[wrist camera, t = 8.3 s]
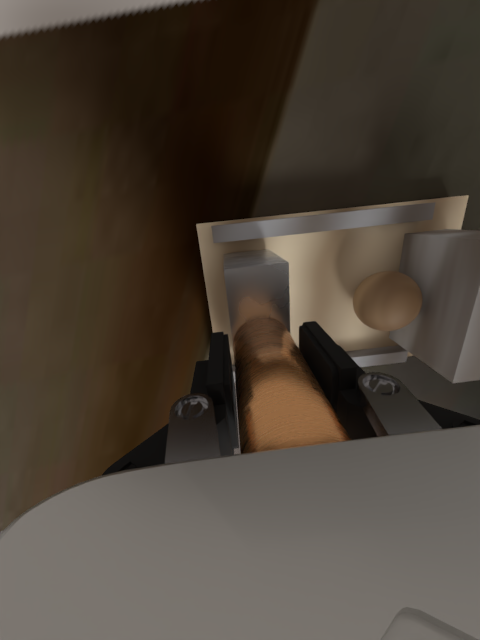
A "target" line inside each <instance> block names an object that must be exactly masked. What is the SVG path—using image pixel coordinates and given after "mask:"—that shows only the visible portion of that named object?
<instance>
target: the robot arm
mask: <svg viewBox="0 0 480 640" xmlns="http://www.w3.org/2000/svg"><path fill="white" fill-rule="evenodd" d="M299 350H300V352H301V354H302V355H303V357H304V359H305V361H306V362H307V364H308V366H309V368H310V369H311V371H312V373H313V374H314V376H315V378H316V380H317V381H318V383H319V385H320V387H321V388H322V390H323V392H324V393H325V395H326V397H327V399H328V400H329V402H330V404H331V406H332V407H333V409H334V411H335V413H336V414H337V416H338V418H339V419H340V421H341V423H342V425H343V426H344V428H345V430H346V432H347V433H348V435H349V437H350V438H351V440H347V441H339V442H331V443H323V444H315V445H307V446H299V447H291V448H283V449H275V450H267V451H259V452H252V453H244V454H236V455H234V448H239V443H238V428H237V413H236V397H235V384H234V376H233V368H232V361H231V353H230V345H229V337H228V334H224V333H223V332H214V333H212V334H211V343H210V352H209V360H205V361H197V362H196V367H195V372H194V377H193V382H192V387H191V393H190V394H189V395H185V396H183V397H181V398H180V399H178V400H177V401H176V402H175V403H174V404H173V405H172V407H171V410H170V416H169V423H168V424H167V425H166V426H164V427H163V428H162V429H160V430H159V431H158V432H156V433H155V434H153V435H152V436H151V437H149V438H148V439H147V440H145V441H144V442H143V443H141V444H140V445H138V446H137V447H136V448H134V449H133V450H132V451H130V452H129V453H127V454H126V455H125V456H123V457H122V458H121V459H119V460H118V461H117V462H115V463H114V464H113V465H111V466H110V467H109V468H108V469H107V470H106V471H105V472H104V473H103V475H102V476H99V477H96V478H93V479H90V480H87V481H84V482H81V483H78V484H76V485H74V486H72V487H69V488H67V489H65V490H63V491H61V492H58V493H56V494H54V495H52V496H50V497H48V498H47V499H45V500H43V501H41V502H39V503H38V504H36V505H35V506H33V507H31V508H30V509H28V510H27V511H25V512H24V513H23V514H22V515H20V516H19V517H18V518H16V519H15V520H14V521H13V522H12V523H11V524H10V525H9V526H8V527H7V528H5V529H4V530H3V531H2V532H0V640H480V420H478V419H475V418H472V417H469V416H466V415H463V414H460V413H457V412H454V411H450V410H447V409H444V408H441V407H438V406H435V405H432V404H429V403H426V402H423V401H420V400H417V399H416V398H415V397H414V395H413V394H412V393H411V392H410V391H409V390H408V389H407V387H406V386H405V385H404V384H403V383H402V382H401V381H400V380H398V379H397V378H395V377H393V376H390V375H388V374H384V373H379V372H370V373H365V372H364V371H363V370H362V369H361V368H360V367H359V366H358V365H357V364H356V362H355V361H354V360H353V359H352V358H351V357H350V356H349V355H348V354H347V353H346V352H345V350H344V349H343V348H342V347H341V346H339V345H337V344H336V343H335V342H334V341H333V340H332V338H331V337H330V336H329V335H328V334H327V333H326V332H325V331H324V330H323V328H322V327H321V326H320V325H319V324H318V323H317V322H316V321H311V322H303V325H302V326H299Z"/></svg>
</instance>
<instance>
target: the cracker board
mask: <svg viewBox="0 0 480 640" xmlns="http://www.w3.org/2000/svg"><path fill="white" fill-rule="evenodd" d="M468 197H469V195H466V196H456V197H446V198H436V199H427V200H418V201H408V202H399V203H389V204H380V205H370V206H361V207H352V208H342V209H333V210H323V211H314V212H304V213H295V214H286V215H276V216H267V217H257V218H248V219H239V220H229V221H220V222H210V223H201V224H196V227H197V233H198V240H199V246H200V253H201V259H202V265H203V272H204V278H205V285H206V291H207V298H208V304H209V311H210V317H211V324H212V330H213V333H214V332H223V333H224V334H228V337H229V345H230V353H231V361H232V368H233V376H234V382H236V380H235V366H234V352H233V342H232V334H231V326H230V318H229V309H228V301H227V293H226V285H225V277H224V254H227V253H236V252H246V251H255V250H264V249H269V250H271V251H272V252H274V253H275V254H277V255H278V256H280V257H281V258H283V259H284V260H286V261H287V262H289V294H290V335H291V336H292V338H293V340H294V342H295V343H296V345H297V347H298V348H299V326H302V325H303V322H311V321H316V322H317V323H318V324H319V325H320V326H321V327H322V328H323V330H324V331H325V332H326V333H327V334H328V335H329V336H330V337H331V338H332V340H333V341H334V342H335V343H336V344H337V345H339V346H341V347H342V348H343V349H344V350H345V352H346V353H347V354H348V355H349V356H350V357H351V358H352V359H353V360H354V361H355V362H356V364H357V365H358V366H359V367H368V366H376V365H385V364H393V363H402V362H406V360H407V357H408V356H415V357H417V358H418V359H419V360H421V361H422V362H424V363H425V364H426V365H428V366H429V367H431V368H432V369H433V370H435V371H436V372H438V373H439V374H440V375H442V376H443V377H444V378H446V379H447V380H449V381H450V382H451V383H459V382H467V381H475V380H480V230H461V227H462V223H463V219H464V214H465V210H466V206H467V201H468ZM382 271H396V272H400V273H403V274H405V275H407V276H409V277H410V278H412V279H413V280H414V281H415V282H416V283H417V284H418V286H419V288H420V290H421V293H422V299H423V301H422V307H421V310H420V312H419V314H418V316H417V317H416V318H415V319H414V320H413V321H412V322H411V323H410V324H408V325H407V326H405V327H403V328H401V329H398V330H393V331H379V330H375V329H372V328H370V327H368V326H366V325H365V324H364V323H362V322H361V321H360V320H359V318H358V317H357V315H356V314H355V311H354V308H353V296H354V293H355V290H356V289H357V287H358V286H359V284H360V283H361V282H362V281H363V280H364V279H366V278H367V277H369V276H370V275H372V274H375V273H378V272H382Z"/></svg>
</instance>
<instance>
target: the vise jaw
mask: <svg viewBox="0 0 480 640" xmlns="http://www.w3.org/2000/svg"><path fill="white" fill-rule="evenodd" d="M224 277H225V285H226V293H227V301H228V309H229V318H230V326H231V334H232V342H233V352H234V366H235V380H236V394H237V407H238V421H239V435H240V449H241V454H244V453H252V452H259V451H267V450H275V449H283V448H291V447H299V446H307V445H315V444H323V443H331V442H339V441H347V440H351V438H350V437H349V435H348V433H347V432H346V430H345V428H344V426H343V425H342V423H341V421H340V419H339V418H338V416H337V414H336V413H335V411H334V409H333V407H332V406H331V404H330V402H329V400H328V399H327V397H326V395H325V393H324V392H323V390H322V388H321V387H320V385H319V383H318V381H317V380H316V378H315V376H314V374H313V373H312V371H311V369H310V368H309V366H308V364H307V362H306V361H305V359H304V357H303V355H302V354H301V352H300V350H299V348H298V347H297V345H296V343H295V342H294V340H293V338H292V336H291V335H290V294H289V262H287V261H286V260H284V259H283V258H281V257H280V256H278V255H277V254H275V253H274V252H272V251H271V250H269V249H264V250H255V251H246V252H236V253H227V254H224Z"/></svg>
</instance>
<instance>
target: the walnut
mask: <svg viewBox="0 0 480 640" xmlns="http://www.w3.org/2000/svg"><path fill="white" fill-rule="evenodd" d="M422 301H423V299H422V293H421V290H420V288H419V286H418V284H417V283H416V282H415V281H414V280H413V279H412V278H410V277H409V276H407V275H405V274H403V273H400V272H396V271H382V272H378V273H375V274H372V275H370V276H369V277H367V278H366V279H364V280H363V281H362V282H361V283H360V284H359V286H358V287H357V289H356V290H355V293H354V296H353V308H354V311H355V314H356V315H357V317H358V318H359V320H360V321H361V322H362V323H364V324H365V325H366V326H368V327H370V328H372V329H375V330H379V331H393V330H398V329H401V328H403V327H405V326H407V325H408V324H410V323H411V322H412V321H413V320H414V319H415V318H416V317H417V316H418V314H419V312H420V310H421V307H422Z"/></svg>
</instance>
